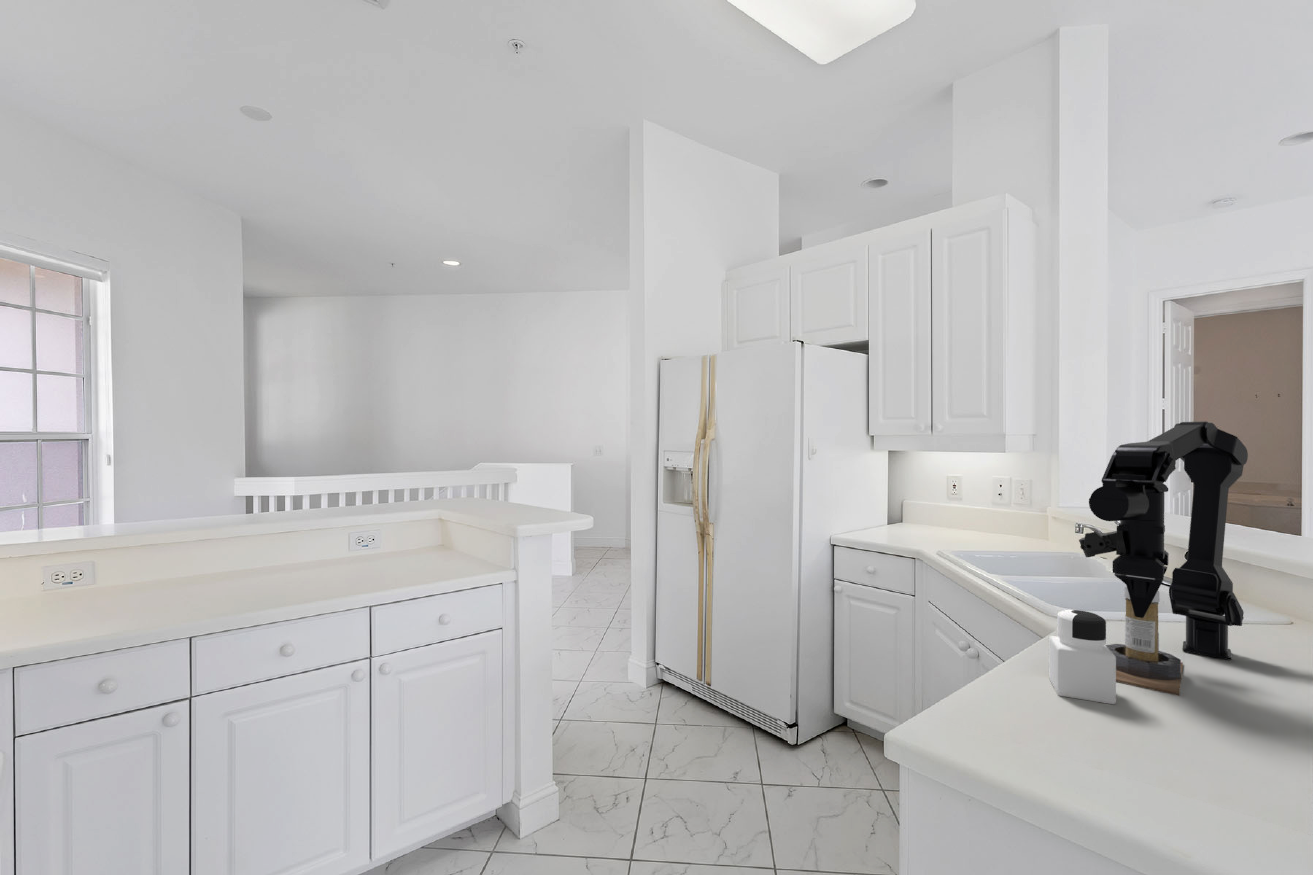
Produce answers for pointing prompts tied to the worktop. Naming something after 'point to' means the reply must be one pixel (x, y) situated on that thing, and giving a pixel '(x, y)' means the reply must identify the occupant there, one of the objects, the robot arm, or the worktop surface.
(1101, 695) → the medicine bottle
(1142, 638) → the sprinkles bottle
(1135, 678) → the walnut board
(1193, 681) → the worktop surface
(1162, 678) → the iron collar
